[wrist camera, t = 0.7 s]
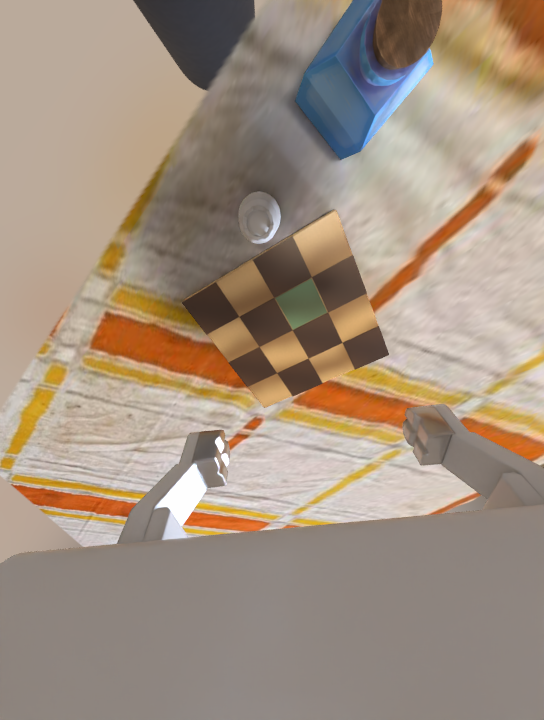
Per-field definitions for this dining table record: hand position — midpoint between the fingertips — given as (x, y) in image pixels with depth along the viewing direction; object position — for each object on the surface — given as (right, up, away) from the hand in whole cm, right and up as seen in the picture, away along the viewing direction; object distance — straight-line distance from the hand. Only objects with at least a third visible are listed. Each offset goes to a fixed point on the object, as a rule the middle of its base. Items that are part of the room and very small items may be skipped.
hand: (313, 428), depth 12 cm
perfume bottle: (+5, +26, +11) cm, 29 cm away
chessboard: (+1, +8, +23) cm, 24 cm away
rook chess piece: (-3, +18, +16) cm, 25 cm away
